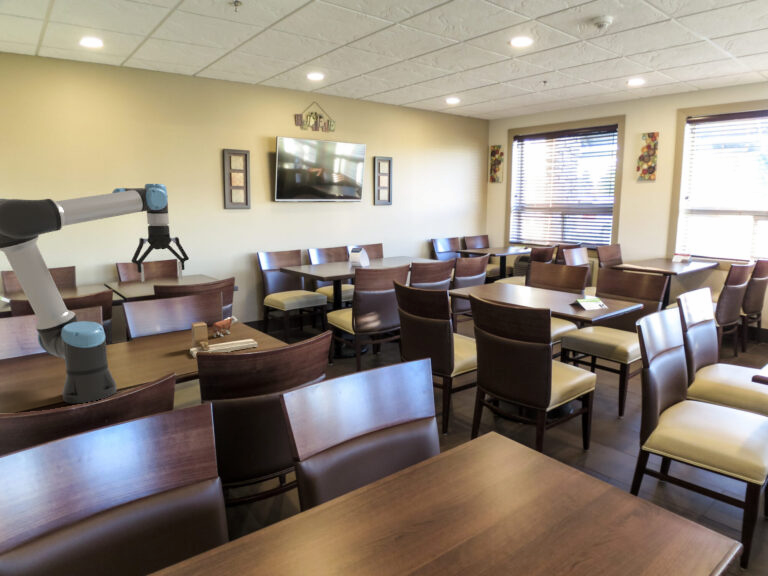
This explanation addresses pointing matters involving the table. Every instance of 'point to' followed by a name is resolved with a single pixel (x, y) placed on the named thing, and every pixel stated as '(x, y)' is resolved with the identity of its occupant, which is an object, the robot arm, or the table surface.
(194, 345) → the tan boxy piece
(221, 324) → the bull figurine
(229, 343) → the board
